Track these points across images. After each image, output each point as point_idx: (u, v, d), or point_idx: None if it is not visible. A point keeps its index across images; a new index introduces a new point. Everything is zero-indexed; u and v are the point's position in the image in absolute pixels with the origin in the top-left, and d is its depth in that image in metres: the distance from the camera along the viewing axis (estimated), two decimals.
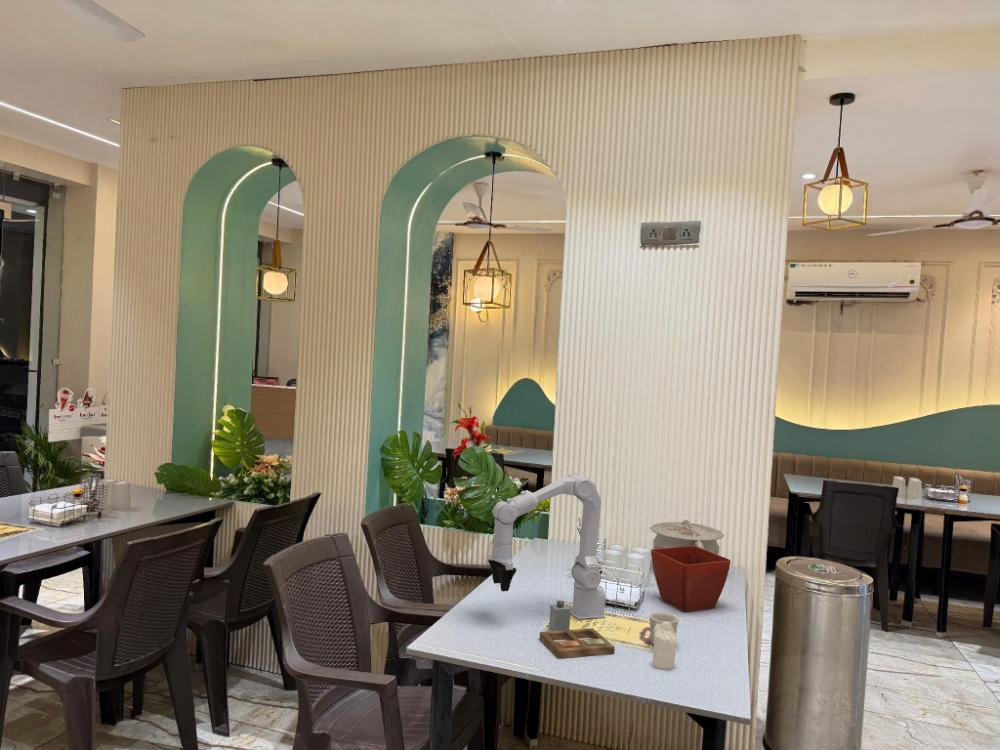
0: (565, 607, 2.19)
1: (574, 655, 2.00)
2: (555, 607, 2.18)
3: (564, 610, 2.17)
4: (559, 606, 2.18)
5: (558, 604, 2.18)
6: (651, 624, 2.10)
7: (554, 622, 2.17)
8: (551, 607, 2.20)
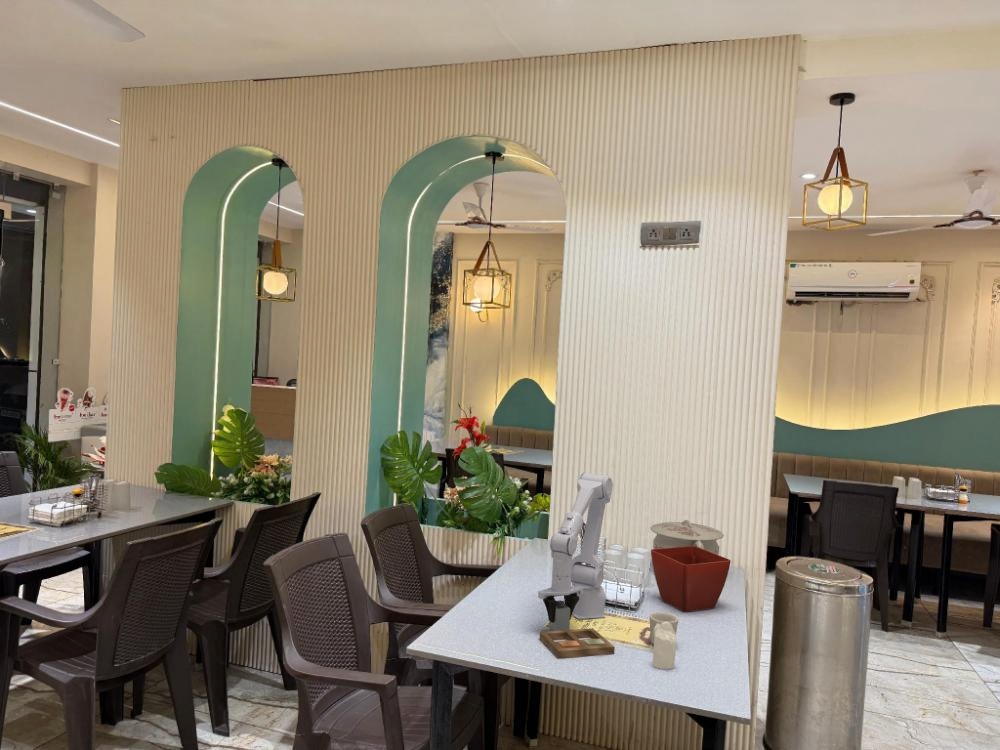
0: (565, 607, 2.19)
1: (574, 655, 2.00)
2: None
3: (564, 610, 2.17)
4: (559, 606, 2.18)
5: (558, 604, 2.18)
6: (651, 624, 2.10)
7: (554, 622, 2.17)
8: None
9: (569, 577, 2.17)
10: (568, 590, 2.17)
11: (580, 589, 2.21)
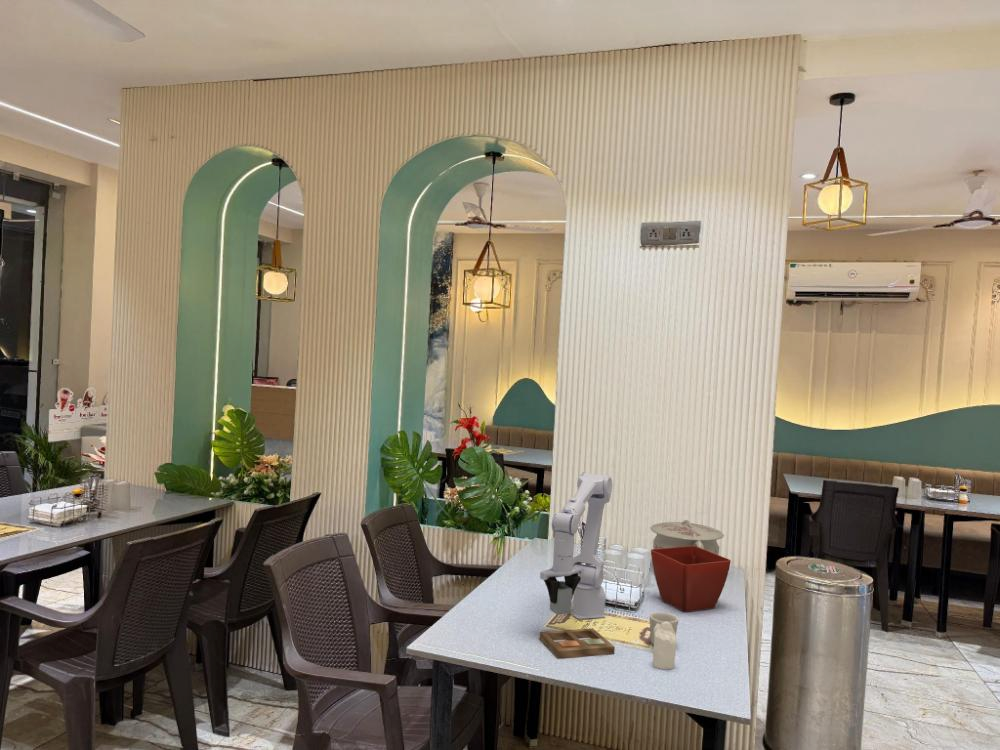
0: (567, 587, 2.15)
1: (574, 655, 2.00)
2: None
3: (566, 590, 2.14)
4: (561, 587, 2.15)
5: (560, 585, 2.15)
6: (651, 624, 2.10)
7: (556, 603, 2.13)
8: None
9: (571, 557, 2.14)
10: (570, 570, 2.14)
11: (581, 569, 2.18)
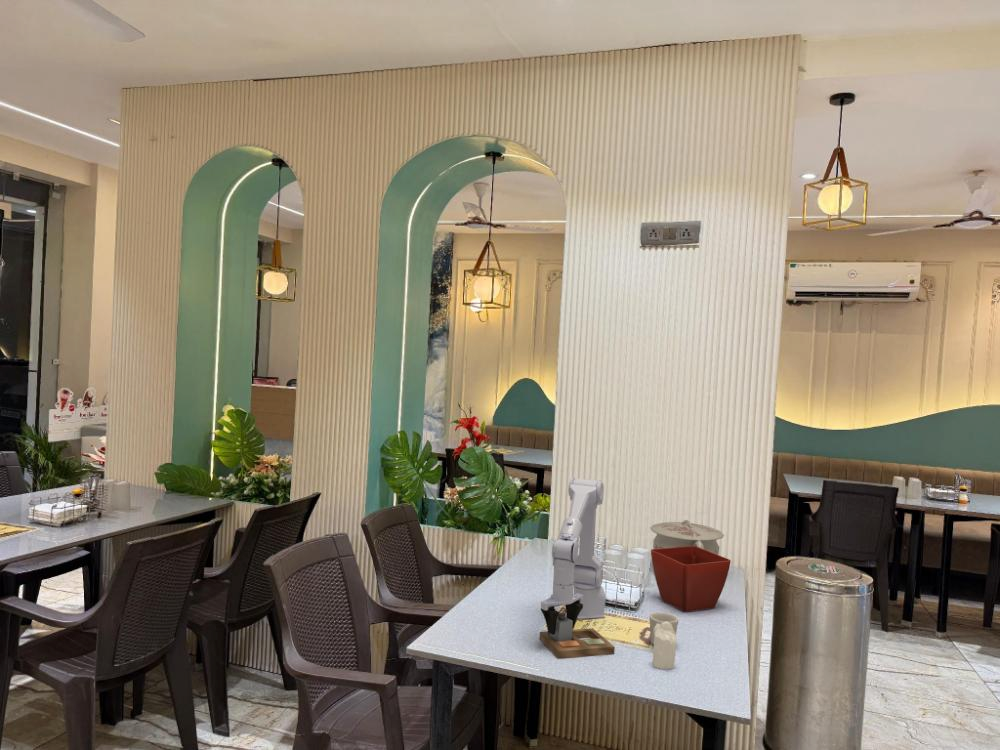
0: (567, 619, 2.08)
1: (574, 655, 2.00)
2: (557, 620, 2.07)
3: (567, 623, 2.07)
4: (561, 619, 2.08)
5: (560, 617, 2.08)
6: (651, 624, 2.10)
7: (557, 636, 2.06)
8: None
9: (572, 585, 2.07)
10: (571, 599, 2.07)
11: (580, 597, 2.11)
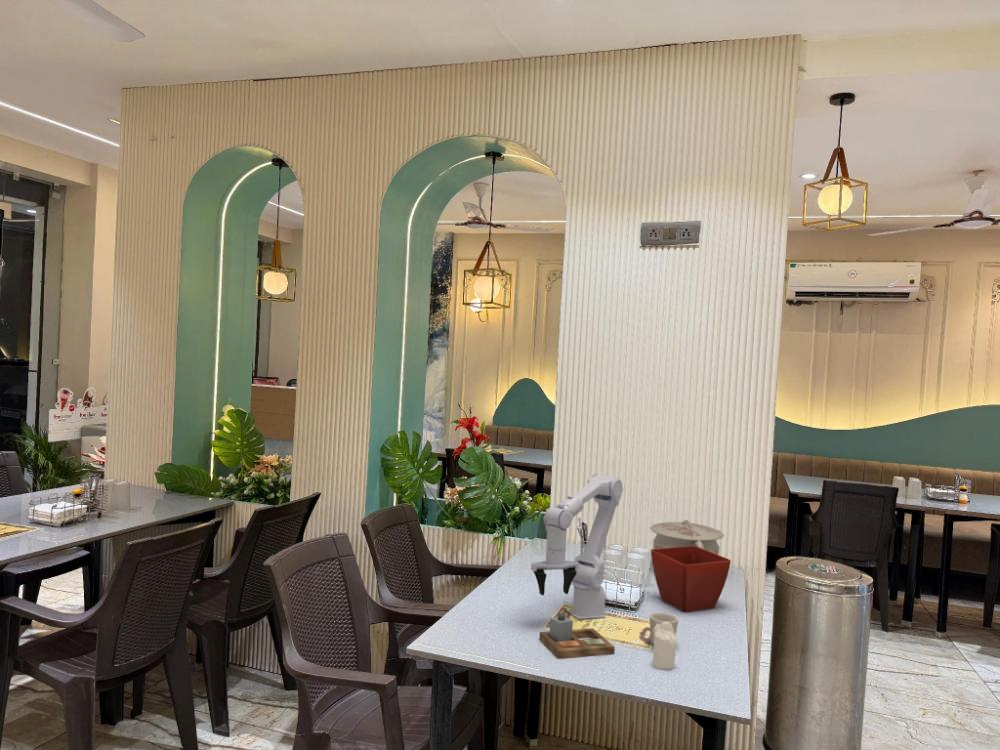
0: (567, 619, 2.08)
1: (574, 655, 2.00)
2: (557, 620, 2.07)
3: (567, 623, 2.07)
4: (561, 619, 2.08)
5: (560, 617, 2.08)
6: (651, 624, 2.10)
7: (557, 636, 2.06)
8: (552, 620, 2.08)
9: (562, 551, 2.19)
10: (561, 564, 2.19)
11: (575, 564, 2.22)
